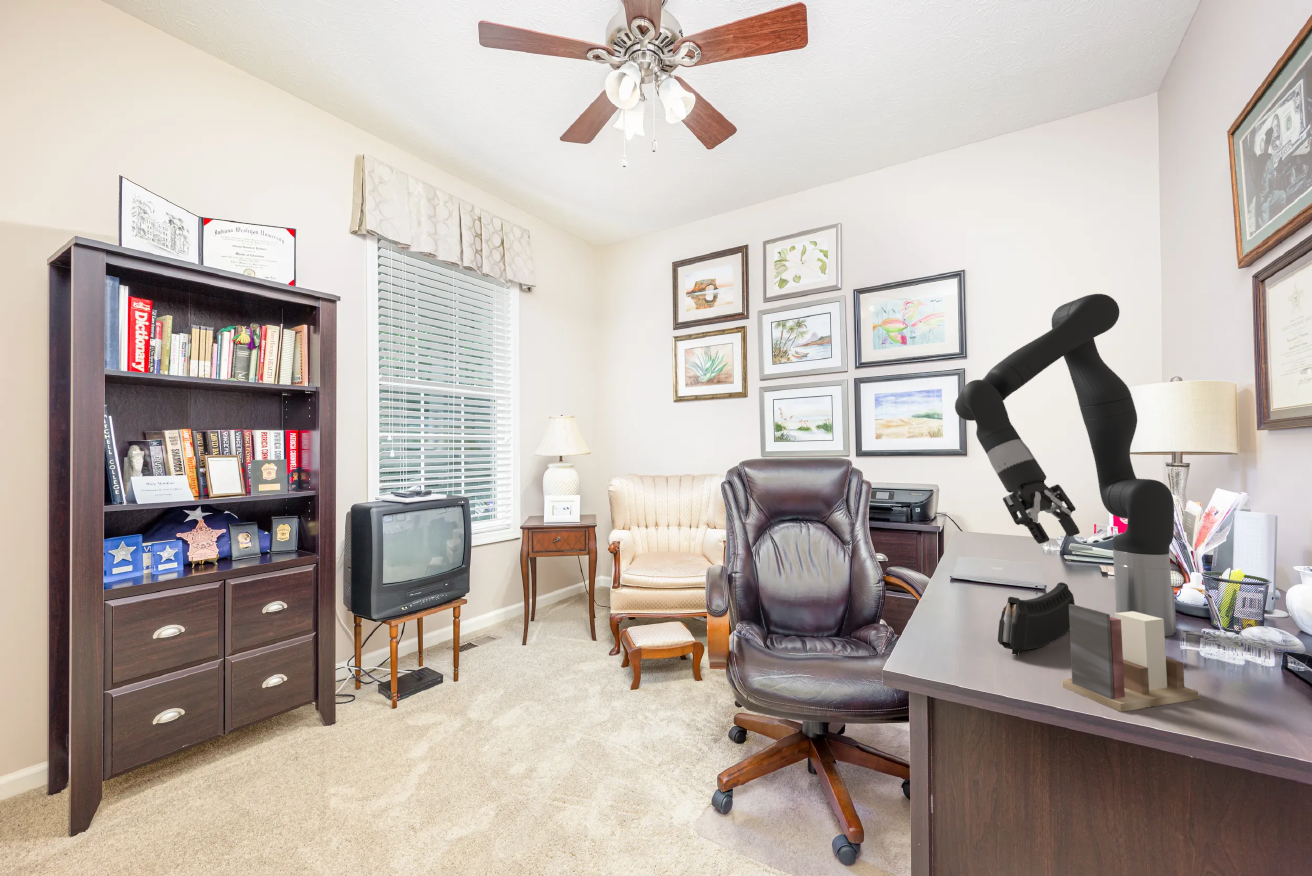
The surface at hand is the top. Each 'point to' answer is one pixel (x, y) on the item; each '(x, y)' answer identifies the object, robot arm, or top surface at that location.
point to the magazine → (1035, 620)
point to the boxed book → (1145, 645)
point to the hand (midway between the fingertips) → (1059, 538)
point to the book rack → (1115, 666)
